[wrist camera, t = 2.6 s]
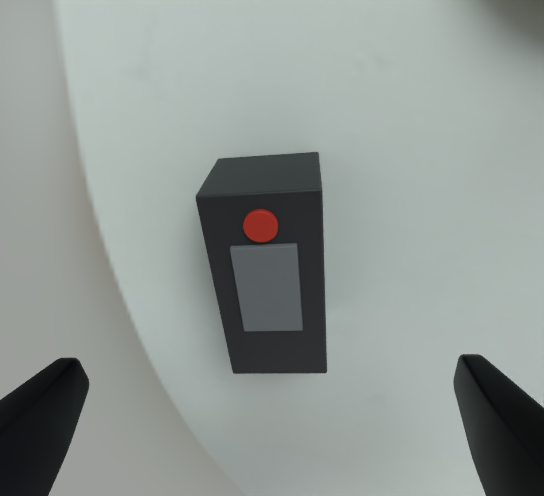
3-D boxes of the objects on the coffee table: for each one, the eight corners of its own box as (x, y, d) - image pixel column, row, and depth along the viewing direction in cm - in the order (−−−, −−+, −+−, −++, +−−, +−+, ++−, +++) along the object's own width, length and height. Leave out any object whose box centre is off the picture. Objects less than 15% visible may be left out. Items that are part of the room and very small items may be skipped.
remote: (323, 313, 15) (327, 377, 12) (244, 315, 16) (231, 377, 13) (318, 151, 12) (322, 191, 9) (217, 158, 12) (192, 198, 9)
